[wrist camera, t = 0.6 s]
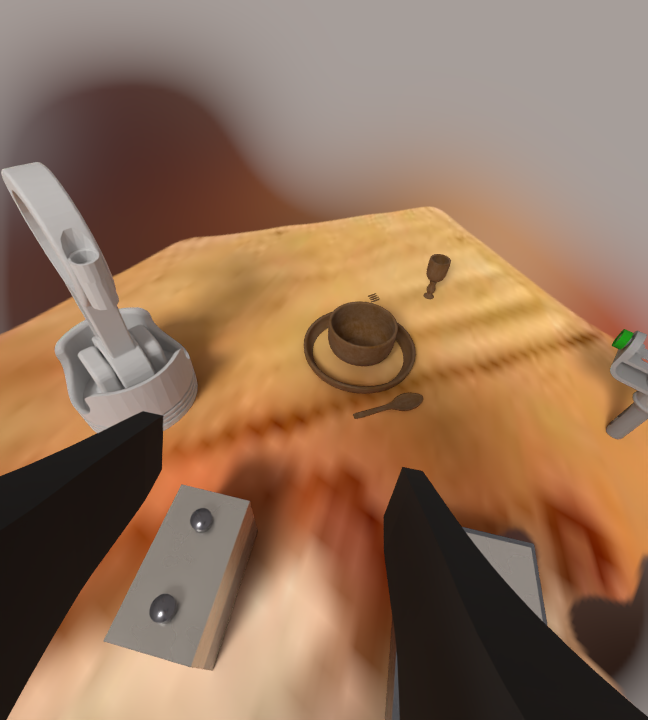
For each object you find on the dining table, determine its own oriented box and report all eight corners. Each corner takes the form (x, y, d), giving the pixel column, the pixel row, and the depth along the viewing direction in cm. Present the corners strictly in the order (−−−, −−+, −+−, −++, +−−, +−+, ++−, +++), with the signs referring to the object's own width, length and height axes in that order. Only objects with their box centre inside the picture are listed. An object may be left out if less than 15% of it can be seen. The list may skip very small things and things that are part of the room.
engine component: (166, 341, 39) (67, 390, 34) (81, 122, 24) (-119, 153, 19) (223, 402, 34) (117, 470, 29) (162, 176, 19) (-81, 238, 14)
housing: (212, 670, 21) (187, 666, 17) (143, 649, 22) (98, 640, 17) (257, 531, 27) (248, 497, 22) (200, 517, 27) (179, 480, 22)
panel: (564, 863, 17) (596, 885, 15) (378, 804, 18) (387, 817, 16) (520, 551, 27) (537, 541, 25) (399, 522, 28) (406, 510, 26)
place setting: (285, 312, 44) (284, 271, 40) (429, 288, 49) (442, 249, 44) (331, 434, 33) (336, 395, 29) (511, 387, 38) (539, 348, 33)
